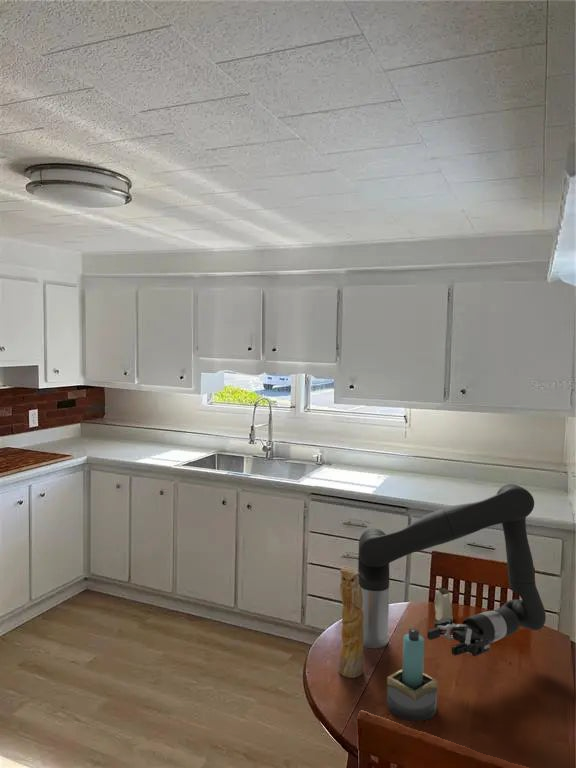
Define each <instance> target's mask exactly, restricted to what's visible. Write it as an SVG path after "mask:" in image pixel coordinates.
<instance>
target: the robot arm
mask: <svg viewBox="0 0 576 768" xmlns="http://www.w3.org/2000/svg"><path fill="white" fill-rule="evenodd" d="M534 509H535V499H534V496H533V495H532V493H530V491H528V490H527V489H526V488H524V487H522V486H519V485H518V484H512V483H511V484H505V485H503V486H501V487H500V488H499V489H498V491H497V492H496V494H495V495H492V496H490V497H487V498H485V499H483V500H480V501H475V502H470V503H462V504H454V505H450V506H447V507H444V508H441V509H437V510H435V511H432V512H429V513H427V514H425V515H423V516H421V517H419V518H418V519H416V520H415V521H413V522H412V523H409V525H407V526H406V527H404V528H402V529H400V530H397V531H393V532H390V533H385V532H384V531H383V530H381V529H378V528H369V529H368V530H365V531H364V532H363V533H362V534H361V536H360V537H359V540H358V563H357V566H358V567H357V572H359V573H360V574H359V575H358V577H359V585H360V587H361V590H362V597H363V604H362V609H361V610H362V611H363V613H364V618H363V648H369V649H381V648H385V646H387V645H388V641H389V638H388V637H389V611H390V610H389V607H390V605H389V604H390V578H391V577H390V563H392V562H394V561H396V560H399V559H401V558H404V557H405V556H407V555H411V554H414V553H417V552H420V551H424V550H427V549H430V548H433V547H436V546H440V545H443V544H446V543H449V542H452V541H455V540H458V539H460V538H463V537H465V536H469V535H472V534H474V533H476V532H479V531H481V530H483V529H486V528H490V527H492V526H496V525H500V524H501V525H502V529H503V531H502V532H503V535H504V542H505V553H506V564H507V565H506V566H507V575H508V577H507V578H508V585H509V589H510V590H511V592H513V593H514V594H516V595H518V596H519V597H520V598H521V599H511V600H508V601H507V602H505V603H504V604H503V605H502V606H500V607H499V608H496V609H493V610H489V611H488V610H487V611H484V612H480V613H477V614H474V615H471V616H468V617H466V618H465V619H464V620H463V621H462V622H461V623H454V622H453V620H454V618H453V619H450V618H449V619H445V620H441V621H438V620H437V621H435V622H434V623H433V624H434V625H433V628H432V629H429V630H427V636H426V637H427V638H426V639H428V640H429V641H432V640H434V639H437V638H441V637H442V638H446V639H448V640H455V641H456V642H459V643H458V644H454V645H452V647H451V655H453V656H459V655H463V654H471V656H472V657H478V656H479V655H482V654H485V653H486V652H489V651H490V644H492V643H495V642H497V641H500V640H501V639H503V638H505V637H509V636H511V635H513V634H515V633H516V632H517V631H518V630H519V628H520V627H521V628H525V629H528V630H531V631H540V630H541V629H542V628H544V625H545V624H546V610H545V606H544V603H543V601H542V599H541V595H540V592H539V591H538V589H537V585H536V584H537V583H536V575H535V566H534V560H533V556H532V552H531V547H530V543H529V540H528V534H527V526H526V523H527V521H526V520H527V519H526V517H528V516H529V515H530V514H532V511H533V510H534ZM451 630H452V633H451Z"/></svg>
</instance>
